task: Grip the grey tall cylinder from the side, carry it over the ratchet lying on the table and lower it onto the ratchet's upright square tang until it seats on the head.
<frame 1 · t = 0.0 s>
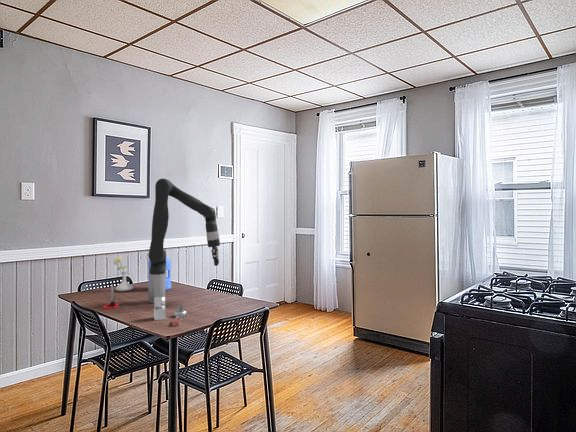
hand: (216, 264, 258), 22 cm above the table, tool pointing down, fingers open, 8 cm apart
flower in vase: (123, 291, 288), on the table
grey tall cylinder: (159, 318, 217), on the table
water jug: (159, 289, 294), on the table
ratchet: (180, 316, 222), on the table
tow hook: (110, 307, 241), on the table
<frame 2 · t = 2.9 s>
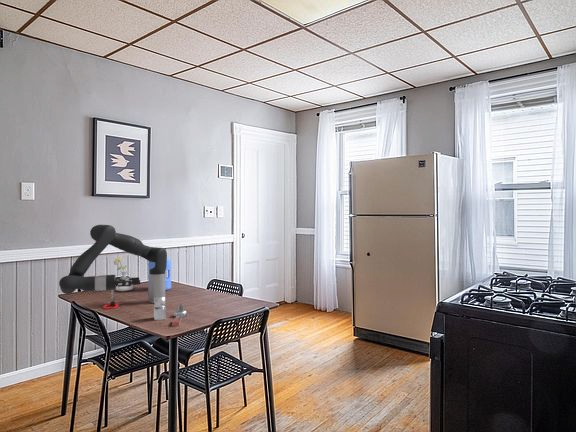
hand: (139, 280, 213), 20 cm above the table, tool horizontal, fingers open, 8 cm apart
nothing on the table moved.
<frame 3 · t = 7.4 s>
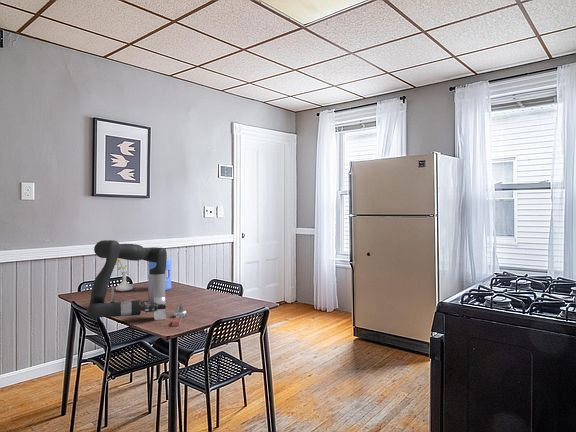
hand: (164, 305, 218), 7 cm above the table, tool horizontal, fingers closed on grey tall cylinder, 5 cm apart
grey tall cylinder: (159, 318, 217), on the table, touching gripper
everything else where it was.
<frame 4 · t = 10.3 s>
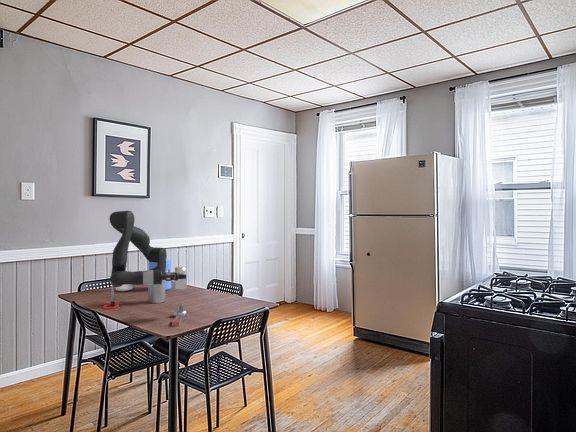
hand: (185, 275, 222), 21 cm above the table, tool horizontal, fingers closed on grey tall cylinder, 5 cm apart
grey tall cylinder: (180, 288, 221), point 15 cm above the table, touching gripper
everything else where it was.
when the fingers open (9 cm above the table, at t = 13.3 s): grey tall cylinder stays where it is, resting on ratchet.
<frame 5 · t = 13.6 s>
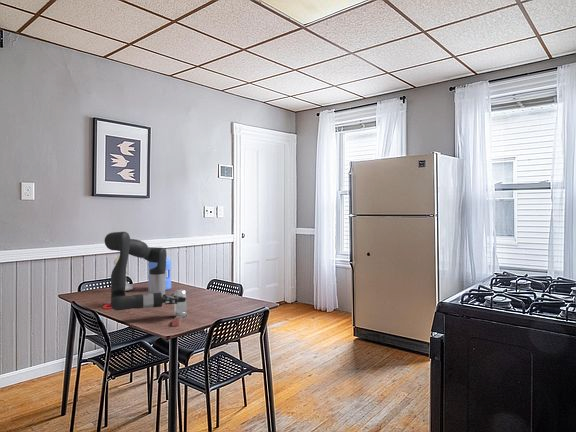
hand: (184, 297, 222), 10 cm above the table, tool horizontal, fingers open, 8 cm apart
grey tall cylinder: (180, 311, 222), point 2 cm above the table, touching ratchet
everything else where it was.
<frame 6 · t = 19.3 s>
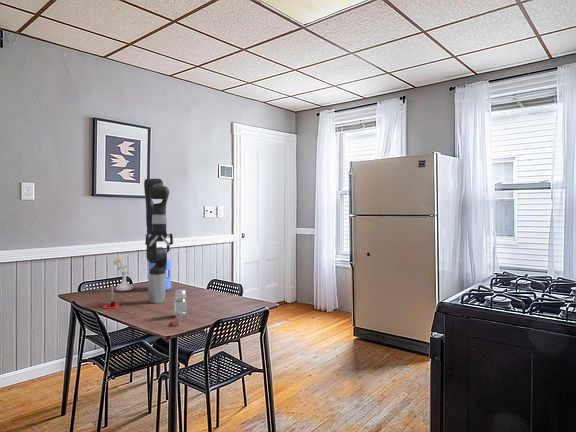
hand: (159, 252, 226), 33 cm above the table, tool pointing down, fingers open, 8 cm apart
nothing on the table moved.
at the end: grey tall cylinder 0.0 cm off-centre on the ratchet, point 2.5 cm above the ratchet's base; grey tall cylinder tilted 0°; the gripper is holding nothing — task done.
